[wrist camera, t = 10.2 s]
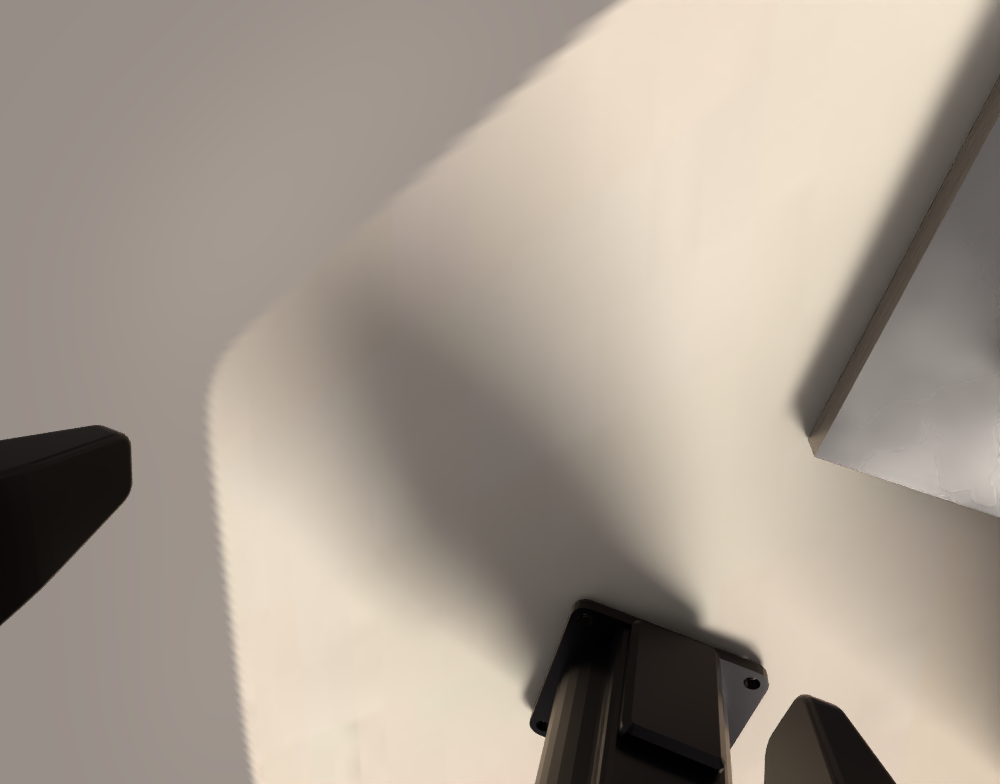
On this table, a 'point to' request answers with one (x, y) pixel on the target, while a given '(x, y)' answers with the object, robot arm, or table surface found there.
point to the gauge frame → (934, 348)
